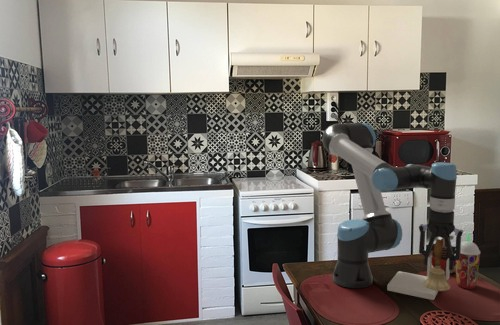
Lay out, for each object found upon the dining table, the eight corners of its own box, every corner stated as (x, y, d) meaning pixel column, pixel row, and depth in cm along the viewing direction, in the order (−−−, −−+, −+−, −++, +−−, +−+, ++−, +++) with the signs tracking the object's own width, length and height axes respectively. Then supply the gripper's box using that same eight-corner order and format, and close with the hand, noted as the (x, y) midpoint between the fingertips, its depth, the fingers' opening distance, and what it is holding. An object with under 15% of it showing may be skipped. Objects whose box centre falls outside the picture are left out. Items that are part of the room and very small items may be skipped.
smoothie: (482, 291, 153) (484, 237, 151) (457, 289, 155) (459, 236, 152) (474, 282, 161) (477, 231, 159) (451, 280, 163) (453, 230, 160)
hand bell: (430, 291, 136) (433, 244, 134) (418, 280, 144) (421, 236, 142) (455, 290, 137) (458, 243, 134) (442, 280, 145) (445, 235, 143)
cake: (427, 272, 172) (428, 229, 170) (430, 264, 180) (432, 223, 178) (455, 276, 167) (457, 232, 164) (458, 269, 174) (460, 227, 172)
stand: (387, 290, 155) (387, 285, 155) (398, 275, 169) (398, 271, 168) (433, 300, 147) (433, 294, 146) (441, 284, 160) (441, 279, 160)
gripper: (410, 208, 141) (407, 274, 144) (471, 215, 131) (466, 286, 134) (415, 203, 147) (412, 267, 150) (473, 210, 137) (469, 278, 140)
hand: (438, 276), depth 142 cm, fingers closed on hand bell, 5 cm apart
